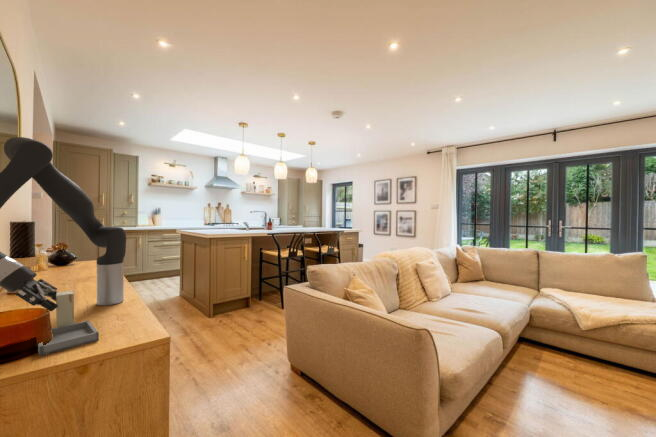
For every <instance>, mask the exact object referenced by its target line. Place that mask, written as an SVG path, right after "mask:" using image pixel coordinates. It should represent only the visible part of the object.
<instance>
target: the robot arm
mask: <svg viewBox="0 0 656 437" xmlns="http://www.w3.org/2000/svg"><path fill="white" fill-rule="evenodd" d="M3 151H4V154H5V157H7V158H8V159H9V162H8V164H7V165H6V166H5V167H4V169H3V170H2V171H1V172H0V210H1V209H2V207H3V206H5V204H6V203H7V202H8V201H9V200H10V199H11V197H13V195H14V194H15V193H17V191H19V189H20V188H22V187H23V186H24V185H26V183H27V182H28V181H29V180H31V179H33V180H34V181H35V182H36V183H37V184H38V186H40V188H41V189H42V190H43V191H44V193H45V194H47V196H49V197H50V199H51V200H52V201H53V202H54V203H55V204H56V205H57V207H59V208H60V210H62V211H63V212H64V213H65V214H66V215H68V216H69V217H70V219H71V220H72V221H73V222H74V223H75V224H76V225H77V226H78V227H79V228H80V229H81V230H82V231H83V232H84V234H85V235H86V236H87V238H88V239H89V240H90V241H91V243H92V244H94V246H96V247H97V248H102V249H103V248H106V249H105V253H104V254H103V255H100V256H98V257H97V258H96V305H97V306H111V305H116V304H120V303H122V302H123V301H124V292H125V291H124V290H125V289H124V288H125V287H124V286H125V285H124V282H125V281H124V277H125V276H124V271H125V270H124V259H125V257H126V253H127V252H126V251H127V250H126V248H127V233H126V231H125V229H124V228H122V227H120V226H108V225H107V226H106V225H104V224H103V223H102V222H100V220H99V219H98V218H97V216H96V215H95V208H94V203H93V201H92V199H91V197H89V195H87V193H86V192H85V191H84V190H83V189H82V188H81V187H80V186H79V185H78V184H77V183H76V182H74V181H73V180H71V179H70V178H69V177H68V176H66V175H64V173H62V172H60V170H59V169H57V167H55V165H54V164H53V163H52V160H53V151H52V149H51V147H50V146H49V145H47V144H46V143H44V142H42V141H39V140H37V139H32V138H29V137H24V136H15V137H11V138H9V139H7V140H6V141H5V142H4V145H3ZM36 277H37V273H36V272H35V271H33V270H32V269H31V268H29V267H27V266H26V265H25V264H22V263H21V262H19V261H18V260H16V259H15V258H12V257H10V256H8V255H7V254H5V253H4V252H2V251H0V288H3V289H4V290H5V291H7V292H9V293H13V294H14V293H15V292H16V293H15V295H16V296H17V297H18V298H20V299H22V300H23V301H25V302H26V303H28V304H29V305H31V306H33V307H34V306H41V307H42V308H44V309H45V310H48V311H49V312H53V311H55V310H56V308H57V307H58V305H57V304H56V293H58V288H57V287H55V286H54V285H53V284H50V283H49V282H47V281H45V279H43V278H39V280H35V278H36ZM47 297H48V298H47ZM49 298H50V299H52V300H53V301H54V302H53V301H52V300H50V299H49Z"/></svg>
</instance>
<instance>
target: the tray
mask: <svg viewBox="0 0 656 437" xmlns="http://www.w3.org/2000/svg"><path fill="white" fill-rule="evenodd" d="M50 329H51V330H52V334H53V338H52V340H51V341H50V342H49V343H47V344H46V345H43V342H41V343H39V344H38V349H37V352H38V355H39V357H42V356H46V355H49V354H54V353H57V352H60V351H61V352H62V351H65V350H67V349H71V348H76V347H80V346H85V345H87V344H91V343H94V342H97V341H99V337H100V336H99V331H98V330H97V328H96V327H95V326H94V325H93V324H92V323H91V321H90V320H89V319H88V320H83V321H80V322H76V323H75V322H74V324H70V325H66V326H61V327H57V328H56V327H53V328H50Z"/></svg>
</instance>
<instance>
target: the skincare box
mask: <svg viewBox="0 0 656 437" xmlns="http://www.w3.org/2000/svg"><path fill="white" fill-rule="evenodd" d="M55 304H57V305H58V307H57V308H55V313H56V315H55V318H56V323H55V324H56V325H55V326H56V327H55V328H57V327H61V326H66V325H70V324H75V292H74V290H67V291H59V292H58V291H57V293H56V301H55Z"/></svg>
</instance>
